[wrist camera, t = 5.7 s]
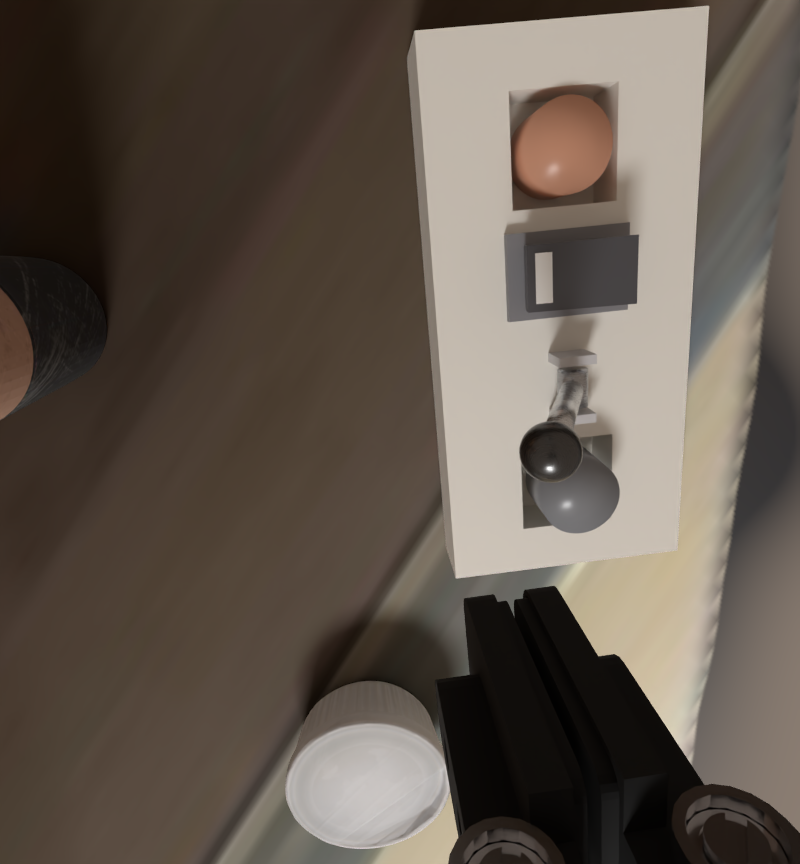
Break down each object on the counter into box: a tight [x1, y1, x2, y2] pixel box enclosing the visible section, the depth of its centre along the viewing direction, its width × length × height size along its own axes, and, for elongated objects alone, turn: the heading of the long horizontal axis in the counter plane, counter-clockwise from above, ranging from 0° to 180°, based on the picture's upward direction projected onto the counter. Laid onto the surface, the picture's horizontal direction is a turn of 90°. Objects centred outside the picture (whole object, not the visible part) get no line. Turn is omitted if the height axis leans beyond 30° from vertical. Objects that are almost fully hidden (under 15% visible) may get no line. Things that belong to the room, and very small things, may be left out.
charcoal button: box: [526, 447, 620, 534], centre depth 33 cm, size 4×4×3 cm
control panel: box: [407, 6, 709, 578], centre depth 32 cm, size 29×14×6 cm, turn 5°
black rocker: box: [524, 235, 639, 313], centre depth 28 cm, size 3×5×1 cm, turn 95°
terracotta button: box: [510, 94, 613, 200], centre depth 29 cm, size 4×4×3 cm
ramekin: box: [286, 681, 450, 849], centre depth 41 cm, size 11×11×5 cm
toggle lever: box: [519, 366, 588, 483], centre depth 27 cm, size 2×2×12 cm
